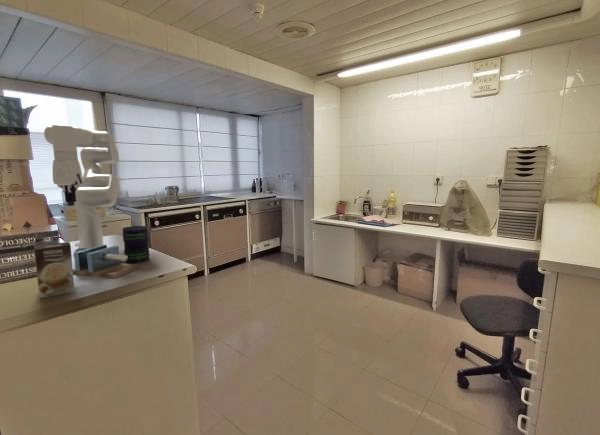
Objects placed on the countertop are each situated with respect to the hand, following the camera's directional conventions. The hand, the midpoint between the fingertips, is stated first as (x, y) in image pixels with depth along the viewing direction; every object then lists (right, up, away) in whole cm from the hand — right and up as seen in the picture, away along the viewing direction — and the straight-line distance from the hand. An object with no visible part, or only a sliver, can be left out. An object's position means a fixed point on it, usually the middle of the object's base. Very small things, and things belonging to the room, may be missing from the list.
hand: (71, 201), depth 122 cm
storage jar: (+22, -26, +11) cm, 36 cm away
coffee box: (+14, -32, -24) cm, 42 cm away
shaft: (+16, -24, -4) cm, 29 cm away
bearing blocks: (+14, -26, -3) cm, 30 cm away
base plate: (+16, -28, -3) cm, 33 cm away
